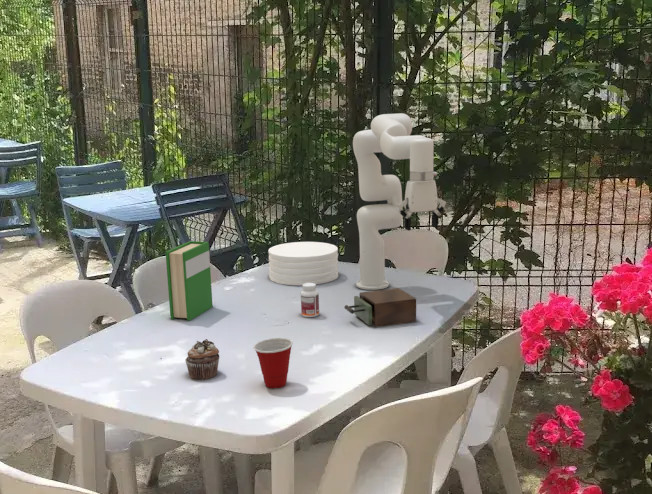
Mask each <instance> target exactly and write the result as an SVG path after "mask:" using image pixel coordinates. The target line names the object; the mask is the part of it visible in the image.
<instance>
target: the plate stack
mask: <svg viewBox="0 0 652 494" xmlns="http://www.w3.org/2000/svg"><path fill="white" fill-rule="evenodd" d="M338 252H339V248H338V246H337V245H335V244H332V243H328V242H323V241H322V242H320V241H294V242H293V241H292V242H286V243H280V244H277V245H274V246H271V247H269V248H268V267H269V268H268V273H269V275H268V276H269V277H268V278H269V280H270V281H272V282H273V283H276V284H280V285H286V286H303V284H305V283H315V284H316V285H321V284H326V283H331V282H333V281H335V280H337V279H338V278H339V266H338V265H339V260H338V258H339V254H338Z"/></svg>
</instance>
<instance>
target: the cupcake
mask: <svg viewBox="0 0 652 494" xmlns="http://www.w3.org/2000/svg"><path fill="white" fill-rule="evenodd" d="M184 361H185V365H186V368H187V371H188V376H189V377H190V378H191V379H193V380H201V381H202V380H208V379H212V378H214V377H216V376H217V375H218V368H219V363H220V350H219V349H218V348H217V347H216V345H215V343H214V342H213V341H211V340H208V339H207V338H206V339H204V340H202V342H201V341H199V340H196V342H195V343H194V344H193V345H192V346H191V349H189V350H188V352H187V357H186V358H185V360H184Z"/></svg>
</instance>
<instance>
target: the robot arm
mask: <svg viewBox="0 0 652 494" xmlns="http://www.w3.org/2000/svg"><path fill="white" fill-rule="evenodd" d="M412 131H413V121H412V119H411V117H410V116H409V115H408V114H406V113H400V112H399V113H383V114H379V115H376V116H375V117H374V118H373V119H372V120H371V122H370V129H363V130H360V131H357V132H356V133H355V134H354V136H353V139H352V150H353V153H354V156H355V159H356V163H357V169H358V174H357V175H358V187H359V188H358V189H359V196H360V198H361V200H362V201H365V202H381V201H387V203H377V204H376V203H375V204H367V205H363V206H361V207H360V208H358V209H357V212H356V222H357V228H358V237H359V280H358V281H356V283H355V286H356V287H357V288H358V289H360V290H367V291H378V290H385V289H387V288H388V287H389V286H390V282H389V281H387V280H386V275H385V274H386V260H385V259H386V256H385V255H386V254H385V253H386V251H385V250H386V247H385V244H386V243H385V240H384V237H383V236H382V235H381V233H380V232H379V231H381V230H389V229H396V228H400V226H401V225H402V223H403V227H404V229H405V231H411V230H412V219H411V218H410V217H411V216H412V215H413V213H422V212H431V213H432V214H431V227H433V228H435V229H438V227H439V225H440V224H439V223H440V222H439V221H440V219H439V218H440V215H441V213H442V212H443V211H444V210H445V209H444V208H445V207H446V204H447V201H445V200H444V199H442V198H439V197H438V190H437V189H438V188H437V184H436V180H435V179H434V178H435V177H437V176H438V173H437V171H434V151H435V150H434V144H435V143H434V140H433V139H432V138H430V137H426V136H425V135H422V134H415V135H411V134H412ZM375 153H382V154H383V155H384V156H385V157H386V158H388V159H391V160H396V161H397V160H409V180H407V182H406V186H405V192H404V200H403V192H402V190H403V189H402V184H401V180H400V178H399V177H398V176H397V175H395V174H382V164H381V162H380V159H379V158H378V157H377V155H376V154H375ZM438 203H439V205H438ZM403 208H404V209H403ZM404 210H405V211H404Z"/></svg>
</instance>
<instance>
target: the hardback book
mask: <svg viewBox="0 0 652 494" xmlns="http://www.w3.org/2000/svg"><path fill="white" fill-rule="evenodd" d="M209 242H210V241H197V240H189V241H187V242H185V243H182V244H180V245H177V246H176V247H173V248H171V249H168V250H166V251H165V262H166V263H165V264H166V276H167V290H168V304H169V318H170V320H175V319H177V318H178V319H186V322H190V321H192V320H194V319H196V318H197V317H199V316H200V315H202V314H203V313H206V312H207V311H209V310H210V309H211V308H213V306H214V304H213V290H212V275H211V274H212V273H211V257H210V246H209V245H210V243H209ZM170 316H171V317H170Z"/></svg>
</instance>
